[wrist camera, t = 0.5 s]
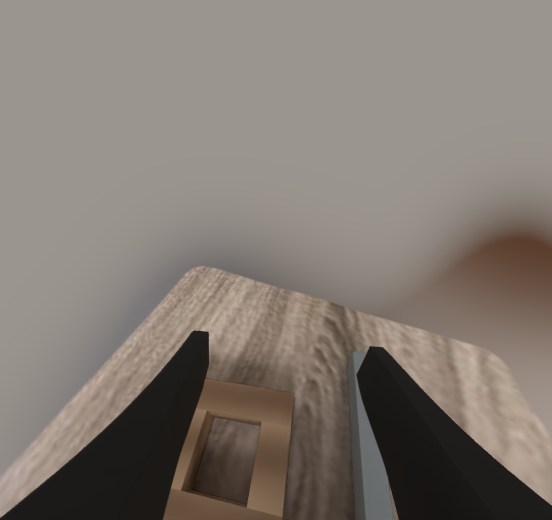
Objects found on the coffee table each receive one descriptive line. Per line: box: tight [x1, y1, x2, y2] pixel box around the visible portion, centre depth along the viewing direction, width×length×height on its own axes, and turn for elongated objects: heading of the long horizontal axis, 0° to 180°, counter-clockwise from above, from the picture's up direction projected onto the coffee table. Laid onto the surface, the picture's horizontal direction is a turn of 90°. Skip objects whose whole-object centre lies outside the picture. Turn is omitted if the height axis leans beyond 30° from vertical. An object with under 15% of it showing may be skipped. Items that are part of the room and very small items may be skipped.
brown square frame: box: [163, 378, 294, 520], centre depth 22 cm, size 12×12×3 cm
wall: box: [347, 351, 393, 520], centre depth 20 cm, size 22×2×4 cm, turn 171°
